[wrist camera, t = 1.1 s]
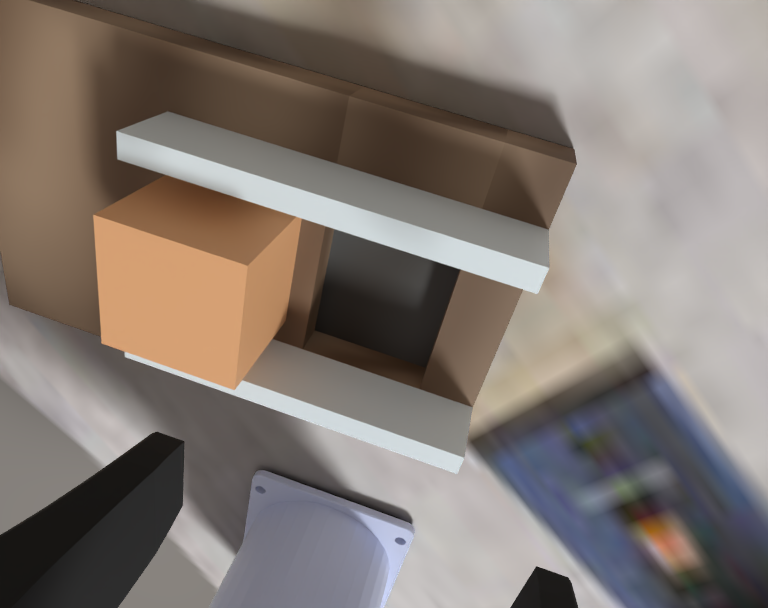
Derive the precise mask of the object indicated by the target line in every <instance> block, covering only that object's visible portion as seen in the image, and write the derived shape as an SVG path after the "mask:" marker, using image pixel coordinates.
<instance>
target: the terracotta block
mask: <svg viewBox="0 0 768 608" xmlns="http://www.w3.org/2000/svg"><path fill="white" fill-rule="evenodd" d="M93 219H94V234H95V250H96V265H97V280H98V295H99V310H100V325H101V341H102V344H104V345H107V346H110V347H113V348H116V349H119V350H122V351H124V352H127V353H130V354H133V355H136V356H139V357H141V358H144V359H147V360H150V361H153V362H156V363H158V364H161V365H164V366H167V367H170V368H173V369H176V370H178V371H181V372H184V373H187V374H190V375H193V376H195V377H198V378H201V379H204V380H207V381H210V382H213V383H215V384H218V385H221V386H224V387H227V388H230V389H232V390H235V389H236V388H237V386H238V385H239V384H240V382H241V381H242V380H243V378H244V377H245V375H246V374H247V373H248V371H249V370H250V369H251V367H252V366H253V365H254V363H255V362H256V360H257V359H258V358H259V356H260V355H261V354H262V352H263V351H264V350H265V348H266V347H267V346H268V344H269V343H270V341H271V340H272V339H273V337H274V336H275V335H276V333H277V332H278V331H279V329H280V328H281V326H282V325H283V324H284V322H285V321H286V316H287V309H288V303H289V297H290V290H291V284H292V278H293V271H294V265H295V259H296V252H297V246H298V240H299V233H300V227H301V221H302V218H299V217H296V216H292V215H289V214H286V213H283V212H280V211H277V210H274V209H271V208H268V207H264V206H261V205H258V204H255V203H252V202H249V201H246V200H243V199H240V198H236V197H233V196H230V195H227V194H224V193H221V192H218V191H215V190H211V189H208V188H205V187H202V186H199V185H196V184H193V183H190V182H187V181H183V180H180V179H177V178H174V177H171V176H168V175H165V176H163V177H161V178H159V179H157V180H156V181H154V182H152V183H150V184H148V185H146V186H145V187H143V188H141V189H139V190H137V191H136V192H134V193H132V194H130V195H128V196H126V197H125V198H123V199H121V200H119V201H117V202H115V203H114V204H112V205H110V206H108V207H106V208H104V209H103V210H101V211H99V212H97V213H95V214H94V215H93Z"/></svg>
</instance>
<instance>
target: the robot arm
mask: <svg viewBox="0 0 768 608" xmlns="http://www.w3.org/2000/svg"><path fill="white" fill-rule="evenodd" d="M183 473H184V441H182V440H179V439H176V438H173V437H170V436H167V435H165V434H162V433H159V432H155V433H152V434H150V435H149V436H148V437H146V438H145V439H144V440H142V441H141V442H139V443H138V444H137V445H135V446H134V447H133V448H131V449H130V450H128V451H127V452H126V453H124V454H123V455H121V456H120V457H119V458H117V459H116V460H114V461H113V462H112V463H110V464H109V465H107V466H106V467H105V468H103V469H102V470H100V471H99V472H97V473H96V474H95V475H93V476H92V477H90V478H89V479H87V480H86V481H84V482H83V483H81V484H80V485H78V486H77V487H75V488H74V489H72V490H71V491H69V492H68V493H66V494H65V495H63V496H62V497H60V498H59V499H57V500H56V501H54V502H53V503H51V504H50V505H48V506H47V507H45V508H44V509H42V510H40V511H39V512H37V513H36V514H34V515H32V516H31V517H29V518H27V519H26V520H24V521H23V522H21V523H20V524H18V525H16V526H14V527H13V528H11V529H10V530H8V531H6V532H5V533H3V534H1V535H0V608H118V607H119V605H120V604H121V602H122V601H123V600H124V598H125V597H126V595H127V594H128V593H129V591H130V590H131V588H132V587H133V585H134V584H135V583H136V581H137V580H138V578H139V577H140V576H141V574H142V573H143V571H144V570H145V568H146V567H147V566H148V564H149V563H150V561H151V560H152V558H153V557H154V556H155V554H156V552H157V551H158V549H159V547H160V545H161V544H162V542H163V540H164V538H165V537H166V535H167V533H168V532H169V530H170V528H171V526H172V524H173V522H174V521H175V519H176V517H177V515H178V513H179V511H180V510H181V508H182V506H183ZM414 533H415V529H414V527H413V526H412V525H411V524H410V523H408V522H406V521H403V520H400V519H398V518H395V517H392V516H389V515H387V514H384V513H381V512H378V511H376V510H373V509H370V508H367V507H365V506H362V505H359V504H356V503H354V502H351V501H348V500H345V499H343V498H340V497H337V496H334V495H331V494H329V493H326V492H323V491H320V490H318V489H315V488H312V487H309V486H307V485H304V484H301V483H298V482H296V481H293V480H290V479H287V478H285V477H282V476H279V475H276V474H274V473H271V472H268V471H265V470H258V471H257V472H256V473H255V475H254V476H253V478H252V484H251V491H250V498H249V505H248V511H247V518H246V525H245V532H244V539H243V543H242V545H241V547H240V549H239V551H238V553H237V555H236V557H235V559H234V561H233V562H232V564H231V566H230V568H229V570H228V572H227V574H226V576H225V578H224V580H223V581H222V583H221V585H220V587H219V589H218V591H217V593H216V595H215V597H214V599H213V601H212V603H211V604H210V606H209V608H384V606H385V604H386V601H387V599H388V597H389V594H390V592H391V589H392V587H393V585H394V582H395V580H396V578H397V575H398V573H399V571H400V568H401V566H402V563H403V561H404V559H405V556H406V554H407V552H408V549H409V547H410V544H411V542H412V540H413V537H414ZM511 608H578V605H577V602H576V598H575V594H574V591H573V587H572V583H571V581H570V580H569V578H568V577H565V576H562V575H560V574H557V573H554V572H551V571H548V570H546V569H543V568H540V567H537V566H536V568H535V569H534V571H533V573H532V574H531V576H530V577H529V579H528V581H527V582H526V584H525V585H524V587H523V588H522V590H521V592H520V593H519V595H518V596H517V598H516V600H515V601H514V603H513V604H512V606H511Z"/></svg>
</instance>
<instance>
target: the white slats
mask: <svg viewBox="0 0 768 608" xmlns="http://www.w3.org/2000/svg"><path fill="white" fill-rule="evenodd" d="M116 137H117V159H118V160H121V161H124V162H127V163H130V164H134V165H137V166H140V167H143V168H146V169H149V170H152V171H155V172H158V173H162V174H165V175H168V176H171V177H174V178H177V179H180V180H183V181H187V182H190V183H193V184H196V185H199V186H202V187H205V188H208V189H211V190H215V191H218V192H221V193H224V194H227V195H230V196H233V197H236V198H240V199H243V200H246V201H249V202H252V203H255V204H258V205H261V206H264V207H268V208H271V209H274V210H277V211H280V212H283V213H286V214H289V215H292V216H296V217H299V218H302V219H305V220H308V221H311V222H314V223H317V224H321V225H324V226H327V227H330V228H333V229H336V230H339V231H342V232H345V233H349V234H352V235H355V236H358V237H361V238H364V239H367V240H370V241H374V242H377V243H380V244H383V245H386V246H389V247H392V248H395V249H398V250H402V251H405V252H408V253H411V254H414V255H417V256H420V257H423V258H427V259H430V260H433V261H436V262H439V263H442V264H445V265H448V266H451V267H455V268H458V269H461V270H464V271H467V272H470V273H473V274H476V275H479V276H483V277H486V278H489V279H492V280H495V281H498V282H501V283H504V284H508V285H511V286H514V287H517V288H520V289H523V290H526V291H529V292H532V293H536V294H538V292H539V290H540V287H541V285H542V283H543V281H544V279H545V276H546V274H547V272H548V270H549V230H548V229H545V228H542V227H539V226H535V225H532V224H529V223H526V222H523V221H519V220H516V219H513V218H510V217H506V216H503V215H500V214H497V213H494V212H490V211H487V210H484V209H481V208H477V207H474V206H471V205H468V204H465V203H461V202H458V201H455V200H452V199H449V198H445V197H442V196H439V195H436V194H432V193H429V192H426V191H423V190H420V189H416V188H413V187H410V186H407V185H403V184H400V183H397V182H394V181H391V180H387V179H384V178H381V177H378V176H374V175H371V174H368V173H365V172H362V171H358V170H355V169H352V168H349V167H345V166H342V165H339V164H336V163H333V162H329V161H326V160H323V159H320V158H316V157H313V156H310V155H307V154H304V153H300V152H297V151H294V150H291V149H287V148H284V147H281V146H278V145H275V144H271V143H268V142H265V141H262V140H259V139H255V138H252V137H249V136H246V135H242V134H239V133H236V132H233V131H230V130H226V129H223V128H220V127H217V126H213V125H210V124H207V123H204V122H201V121H197V120H194V119H191V118H188V117H184V116H181V115H178V114H175V113H172V112H165V113H162V114H160V115H157V116H154V117H152V118H149V119H147V120H144V121H141V122H139V123H136V124H134V125H131V126H128V127H126V128H123V129H120V130H118V131H116ZM125 357H126V358H129V359H132V360H135V361H138V362H141V363H143V364H146V365H149V366H152V367H155V368H158V369H160V370H163V371H166V372H169V373H172V374H175V375H177V376H180V377H183V378H186V379H189V380H192V381H194V382H197V383H200V384H203V385H206V386H209V387H212V388H214V389H217V390H220V391H223V392H226V393H229V394H231V395H234V396H237V397H240V398H243V399H246V400H248V401H251V402H254V403H257V404H260V405H263V406H265V407H268V408H271V409H274V410H277V411H280V412H282V413H285V414H288V415H291V416H294V417H297V418H299V419H302V420H305V421H308V422H311V423H314V424H316V425H319V426H322V427H325V428H328V429H331V430H333V431H336V432H339V433H342V434H345V435H348V436H351V437H353V438H356V439H359V440H362V441H365V442H368V443H370V444H373V445H376V446H379V447H382V448H385V449H387V450H390V451H393V452H396V453H399V454H402V455H404V456H407V457H410V458H413V459H416V460H419V461H421V462H424V463H427V464H430V465H433V466H436V467H438V468H441V469H444V470H447V471H450V472H453V473H455V474H457V473H458V471H459V469H460V466H461V464H462V462H463V460H464V457H465V451H466V445H467V439H468V432H469V426H470V420H471V414H472V408H473V407H470V406H467V405H464V404H461V403H459V402H456V401H453V400H450V399H447V398H444V397H441V396H438V395H435V394H432V393H429V392H426V391H423V390H420V389H418V388H415V387H412V386H409V385H406V384H403V383H400V382H397V381H394V380H391V379H388V378H385V377H382V376H379V375H377V374H374V373H371V372H368V371H365V370H362V369H359V368H356V367H353V366H350V365H347V364H344V363H341V362H338V361H335V360H333V359H330V358H327V357H324V356H321V355H318V354H315V353H312V352H309V351H306V350H303V349H300V348H297V347H294V346H292V345H289V344H286V343H283V342H280V341H277V340H274V339H272V340H271V341H270V343H269V344H268V346H267V347H266V348H265V350H264V351H263V352H262V354H261V355H260V356H259V358H258V359H257V360H256V362H255V363H254V365H253V366H252V367H251V369H250V370H249V371H248V373H247V374H246V375H245V377H244V378H243V380H242V381H241V382H240V384H239V385H238V386H237V388H236V389H235V390H232V389H230V388H227V387H224V386H221V385H218V384H215V383H213V382H210V381H207V380H204V379H201V378H198V377H195V376H193V375H190V374H187V373H184V372H181V371H178V370H176V369H173V368H170V367H167V366H164V365H161V364H158V363H156V362H153V361H150V360H147V359H144V358H141V357H139V356H136V355H133V354H130V353H127V352H125Z"/></svg>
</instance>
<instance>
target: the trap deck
mask: <svg viewBox="0 0 768 608" xmlns="http://www.w3.org/2000/svg"><path fill="white" fill-rule="evenodd" d="M165 112H172V113H175V114H178V115H181V116H184V117H188V118H191V119H194V120H197V121H201V122H204V123H207V124H210V125H213V126H217V127H220V128H223V129H226V130H230V131H233V132H236V133H239V134H242V135H246V136H249V137H252V138H255V139H259V140H262V141H265V142H268V143H271V144H275V145H278V146H281V147H284V148H287V149H291V150H294V151H297V152H300V153H304V154H307V155H310V156H313V157H316V158H320V159H323V160H326V161H329V162H333V163H336V164H339V165H342V166H345V167H349V168H352V169H355V170H358V171H362V172H365V173H368V174H371V175H374V176H378V177H381V178H384V179H387V180H391V181H394V182H397V183H400V184H403V185H407V186H410V187H413V188H416V189H420V190H423V191H426V192H429V193H432V194H436V195H439V196H442V197H445V198H449V199H452V200H455V201H458V202H461V203H465V204H468V205H471V206H474V207H477V208H481V209H484V210H487V211H490V212H494V213H497V214H500V215H503V216H506V217H510V218H513V219H516V220H519V221H523V222H526V223H529V224H532V225H535V226H539V227H542V228H545V229H548V230H549V228H550V225H551V223H552V221H553V218H554V216H555V214H556V211H557V209H558V207H559V204H560V202H561V200H562V197H563V195H564V193H565V190H566V188H567V186H568V183H569V181H570V179H571V176H572V174H573V172H574V169H575V167H576V165H577V163H576V156H575V150H574V149H572V148H569V147H565V146H562V145H559V144H555V143H552V142H549V141H545V140H542V139H539V138H535V137H532V136H528V135H525V134H522V133H518V132H515V131H512V130H508V129H505V128H502V127H498V126H495V125H491V124H488V123H485V122H481V121H478V120H475V119H471V118H468V117H465V116H461V115H458V114H454V113H451V112H448V111H444V110H441V109H438V108H434V107H431V106H427V105H424V104H421V103H417V102H414V101H411V100H407V99H404V98H401V97H397V96H394V95H390V94H387V93H384V92H380V91H377V90H374V89H370V88H367V87H364V86H360V85H357V84H353V83H350V82H347V81H343V80H340V79H337V78H333V77H330V76H327V75H323V74H320V73H316V72H313V71H310V70H306V69H303V68H300V67H296V66H293V65H290V64H286V63H283V62H279V61H276V60H273V59H269V58H266V57H263V56H259V55H256V54H252V53H249V52H246V51H242V50H239V49H236V48H232V47H229V46H226V45H222V44H219V43H215V42H212V41H209V40H205V39H202V38H199V37H195V36H192V35H189V34H185V33H182V32H178V31H175V30H172V29H168V28H165V27H162V26H158V25H155V24H152V23H148V22H145V21H141V20H138V19H135V18H131V17H128V16H125V15H121V14H118V13H115V12H111V11H108V10H104V9H101V8H98V7H94V6H91V5H88V4H84V3H81V2H77V1H74V0H0V252H1V258H2V264H3V270H4V276H5V281H6V287H7V293H8V299H9V305H12V306H15V307H18V308H21V309H23V310H26V311H29V312H32V313H35V314H38V315H41V316H43V317H46V318H49V319H52V320H55V321H58V322H61V323H63V324H66V325H69V326H72V327H75V328H78V329H80V330H83V331H86V332H89V333H92V334H95V335H98V336H100V337H101V325H100V310H99V295H98V280H97V265H96V250H95V234H94V219H93V215H94V214H95V213H97V212H99V211H101V210H103V209H104V208H106V207H108V206H110V205H112V204H114V203H115V202H117V201H119V200H121V199H123V198H125V197H126V196H128V195H130V194H132V193H134V192H136V191H137V190H139V189H141V188H143V187H145V186H146V185H148V184H150V183H152V182H154V181H156V180H157V179H159V178H161V177H163V176H165V174H162V173H158V172H155V171H152V170H149V169H146V168H143V167H140V166H137V165H134V164H130V163H127V162H124V161H121V160H118V159H117V137H116V131H118V130H120V129H123V128H126V127H128V126H131V125H134V124H136V123H139V122H141V121H144V120H147V119H149V118H152V117H154V116H157V115H160V114H162V113H165ZM522 291H523V289H520V288H517V287H514V286H511V285H508V284H504V283H501V282H498V281H495V280H492V279H489V278H486V277H483V276H479V275H476V274H473V273H470V272H467V271H464V270H461V269H458V268H455V267H451V266H448V265H445V264H442V263H439V262H436V261H433V260H430V259H427V258H423V257H420V256H417V255H414V254H411V253H408V252H405V251H402V250H398V249H395V248H392V247H389V246H386V245H383V244H380V243H377V242H374V241H370V240H367V239H364V238H361V237H358V236H355V235H352V234H349V233H345V232H342V231H339V230H336V229H333V228H330V227H327V226H324V225H321V224H317V223H314V222H311V221H308V220H305V219H302V221H301V227H300V233H299V240H298V246H297V252H296V259H295V265H294V271H293V278H292V284H291V290H290V297H289V303H288V309H287V316H286V321H285V322H284V324H283V325H282V326H281V328H280V329H279V331H278V332H277V333H276V335H275V336H274V337H273V339H274V340H277V341H280V342H283V343H286V344H289V345H292V346H294V347H297V348H300V349H303V350H306V351H309V352H312V353H315V354H318V355H321V356H324V357H327V358H330V359H333V360H335V361H338V362H341V363H344V364H347V365H350V366H353V367H356V368H359V369H362V370H365V371H368V372H371V373H374V374H377V375H379V376H382V377H385V378H388V379H391V380H394V381H397V382H400V383H403V384H406V385H409V386H412V387H415V388H418V389H420V390H423V391H426V392H429V393H432V394H435V395H438V396H441V397H444V398H447V399H450V400H453V401H456V402H459V403H461V404H464V405H467V406H470V407H473V405H474V403H475V401H476V398H477V396H478V394H479V391H480V389H481V387H482V384H483V382H484V380H485V377H486V375H487V373H488V370H489V368H490V366H491V363H492V361H493V359H494V356H495V354H496V352H497V349H498V347H499V345H500V342H501V340H502V338H503V335H504V333H505V331H506V328H507V326H508V324H509V321H510V319H511V317H512V314H513V312H514V310H515V307H516V305H517V302H518V300H519V298H520V295H521V293H522Z"/></svg>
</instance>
